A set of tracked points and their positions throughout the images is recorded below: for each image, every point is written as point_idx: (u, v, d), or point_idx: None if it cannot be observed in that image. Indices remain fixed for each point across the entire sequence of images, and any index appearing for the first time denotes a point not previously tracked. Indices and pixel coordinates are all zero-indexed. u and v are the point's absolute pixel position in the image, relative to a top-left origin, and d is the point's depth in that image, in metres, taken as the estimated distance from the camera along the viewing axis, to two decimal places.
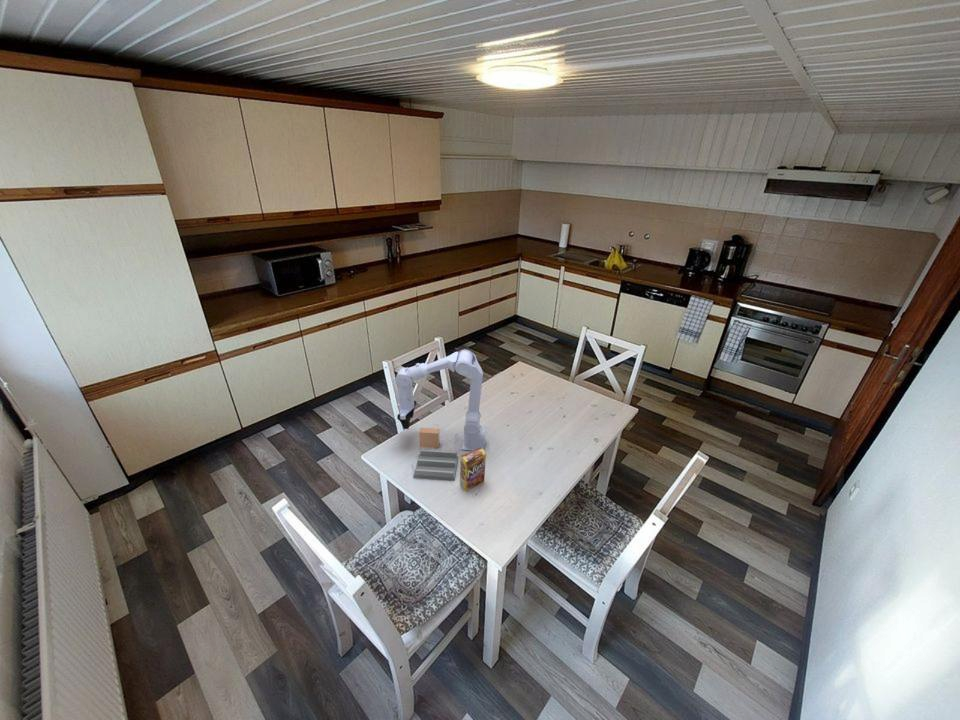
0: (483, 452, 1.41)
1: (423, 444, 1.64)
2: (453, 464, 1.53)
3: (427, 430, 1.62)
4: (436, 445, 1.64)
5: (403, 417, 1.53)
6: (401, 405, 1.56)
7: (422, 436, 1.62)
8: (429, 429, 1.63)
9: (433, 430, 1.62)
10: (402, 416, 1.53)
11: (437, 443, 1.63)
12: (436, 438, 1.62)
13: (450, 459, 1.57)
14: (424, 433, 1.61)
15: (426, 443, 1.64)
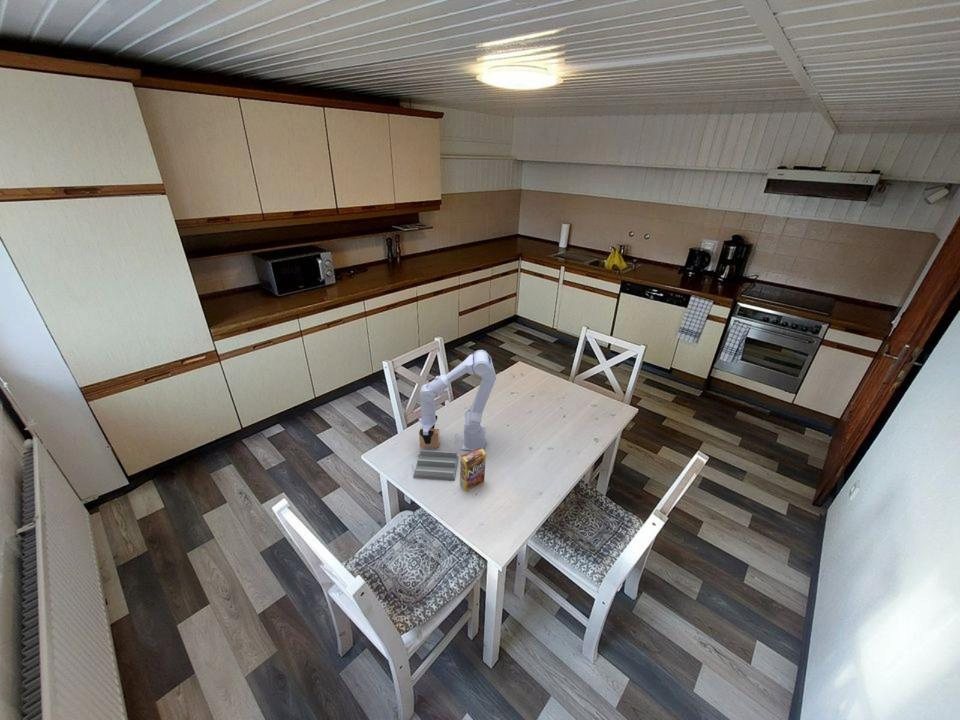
0: (483, 452, 1.41)
1: (423, 444, 1.64)
2: (453, 464, 1.53)
3: None
4: (436, 445, 1.64)
5: (426, 433, 1.54)
6: (424, 421, 1.57)
7: None
8: None
9: (433, 430, 1.62)
10: (425, 432, 1.54)
11: (437, 443, 1.63)
12: (436, 438, 1.62)
13: (450, 459, 1.57)
14: None
15: None
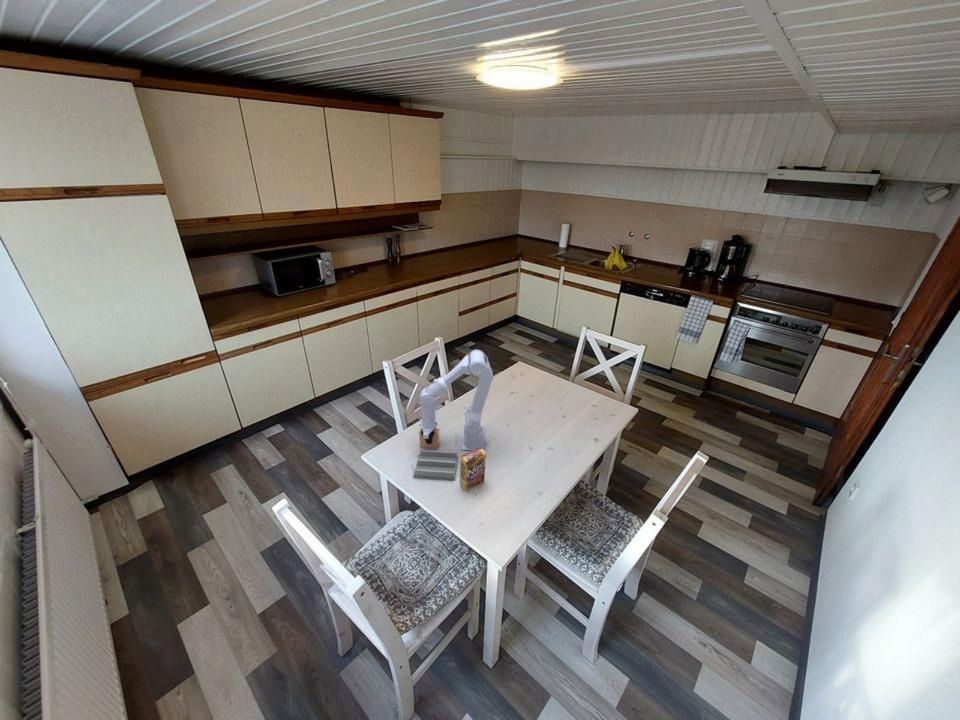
0: (483, 452, 1.41)
1: (423, 444, 1.64)
2: (453, 464, 1.53)
3: None
4: (436, 445, 1.64)
5: (426, 436, 1.55)
6: (424, 424, 1.58)
7: (422, 436, 1.62)
8: None
9: (433, 430, 1.62)
10: (425, 435, 1.54)
11: (437, 443, 1.63)
12: (436, 438, 1.62)
13: (450, 459, 1.57)
14: None
15: None
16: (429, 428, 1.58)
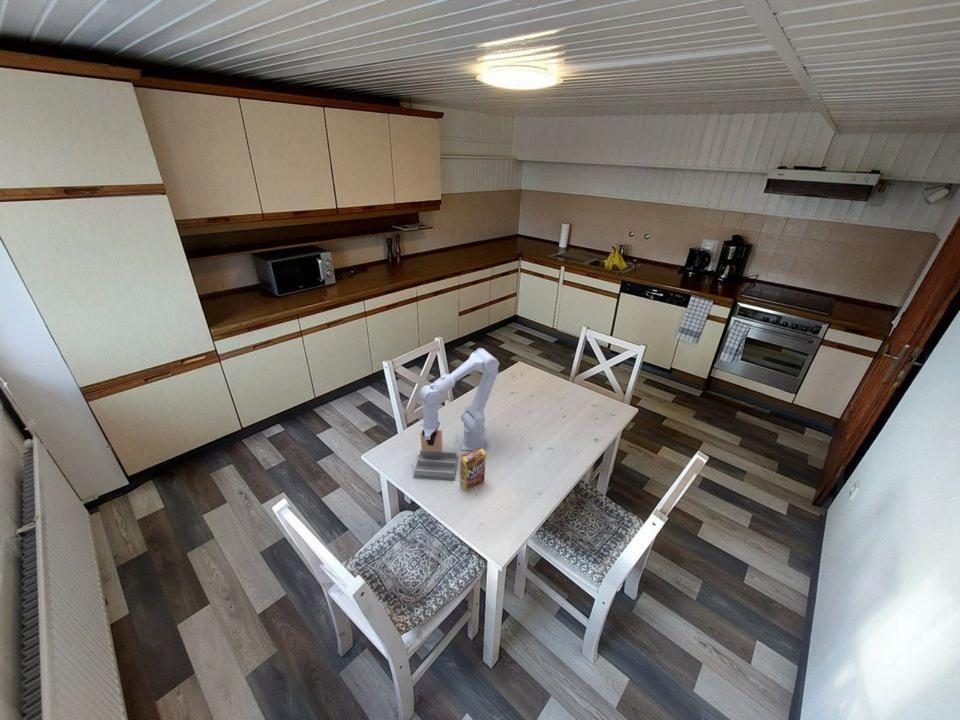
0: (483, 452, 1.41)
1: (425, 447, 1.54)
2: (453, 464, 1.53)
3: None
4: (439, 448, 1.53)
5: (428, 437, 1.44)
6: (426, 424, 1.47)
7: (424, 438, 1.52)
8: None
9: None
10: (427, 436, 1.43)
11: (440, 446, 1.53)
12: (439, 441, 1.52)
13: (450, 459, 1.57)
14: None
15: (428, 446, 1.53)
16: (431, 428, 1.47)
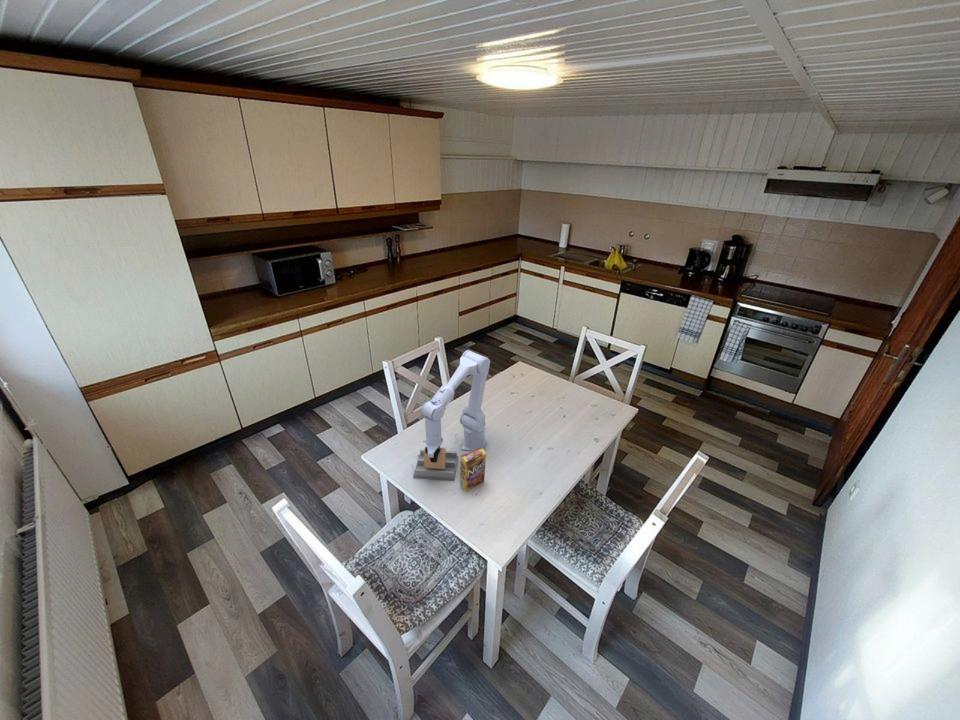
0: (483, 452, 1.41)
1: (428, 465, 1.48)
2: (453, 464, 1.53)
3: None
4: (442, 466, 1.48)
5: (431, 455, 1.38)
6: (429, 441, 1.41)
7: (427, 456, 1.46)
8: None
9: None
10: (430, 454, 1.38)
11: (443, 464, 1.48)
12: (442, 458, 1.46)
13: (450, 459, 1.57)
14: None
15: (431, 463, 1.48)
16: (434, 445, 1.42)
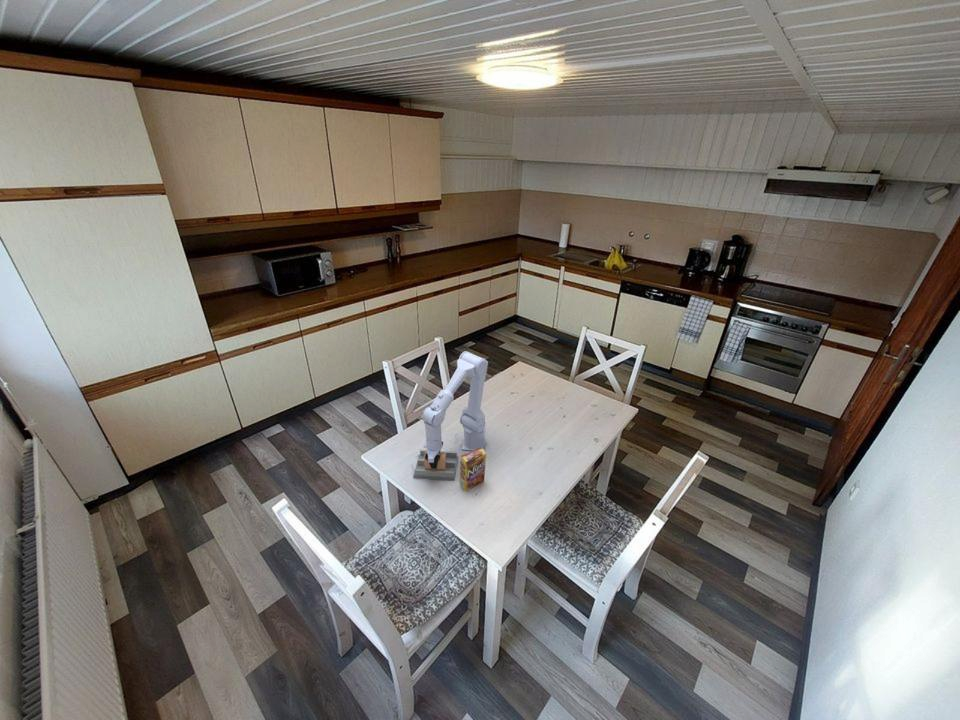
0: (483, 452, 1.41)
1: None
2: (453, 464, 1.53)
3: None
4: None
5: (431, 460, 1.39)
6: (429, 446, 1.42)
7: None
8: None
9: None
10: (430, 459, 1.39)
11: (444, 469, 1.49)
12: (443, 464, 1.48)
13: (450, 459, 1.57)
14: None
15: (432, 469, 1.49)
16: (434, 450, 1.43)
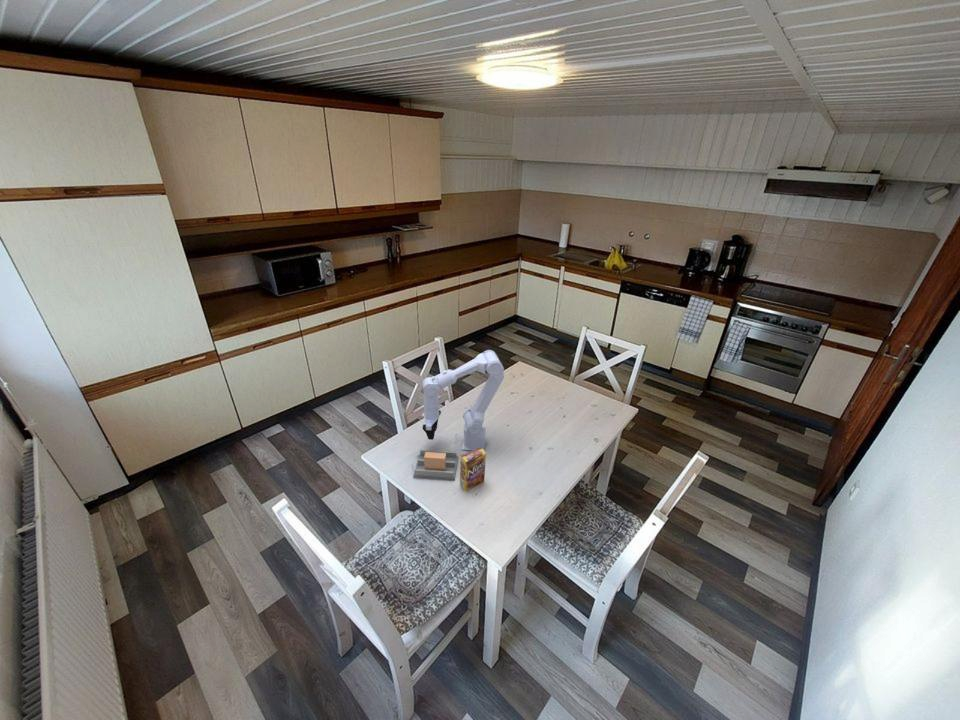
0: (483, 452, 1.41)
1: None
2: (453, 464, 1.53)
3: (432, 455, 1.48)
4: None
5: (429, 428, 1.48)
6: (427, 415, 1.52)
7: (428, 461, 1.48)
8: (435, 453, 1.48)
9: (439, 455, 1.48)
10: (428, 427, 1.48)
11: (444, 469, 1.49)
12: (443, 464, 1.48)
13: (450, 459, 1.57)
14: (429, 459, 1.47)
15: (432, 469, 1.49)
16: (432, 419, 1.52)
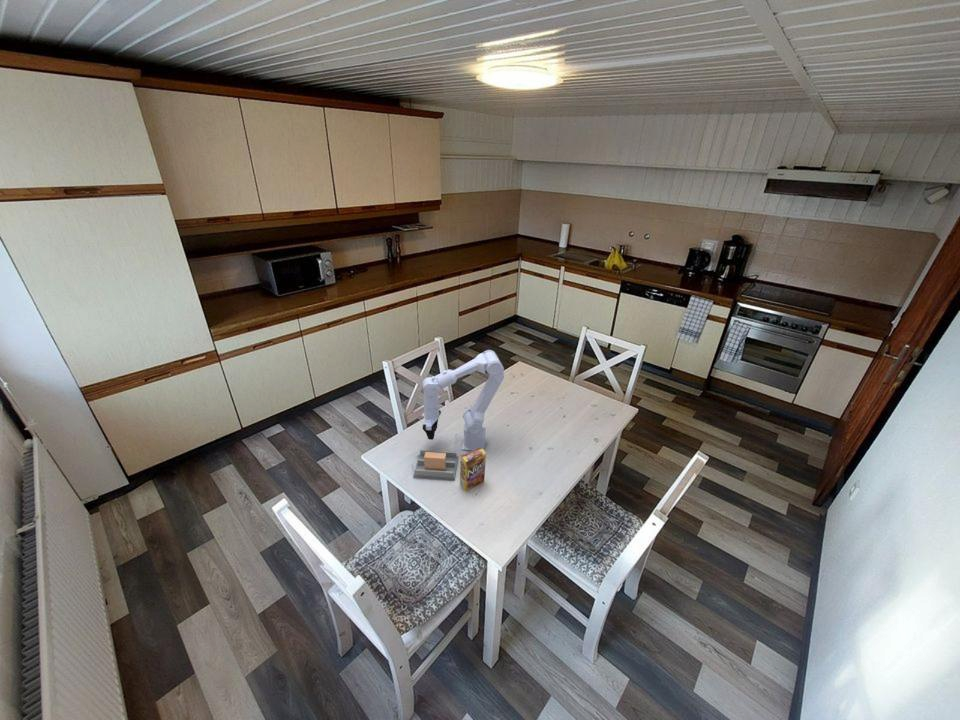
0: (483, 452, 1.41)
1: None
2: (453, 464, 1.53)
3: (432, 455, 1.48)
4: None
5: (429, 428, 1.48)
6: (427, 415, 1.52)
7: (428, 461, 1.48)
8: (435, 453, 1.48)
9: (439, 455, 1.48)
10: (428, 427, 1.48)
11: (444, 469, 1.49)
12: (443, 464, 1.48)
13: (450, 459, 1.57)
14: (429, 459, 1.47)
15: (432, 469, 1.49)
16: (432, 419, 1.52)
